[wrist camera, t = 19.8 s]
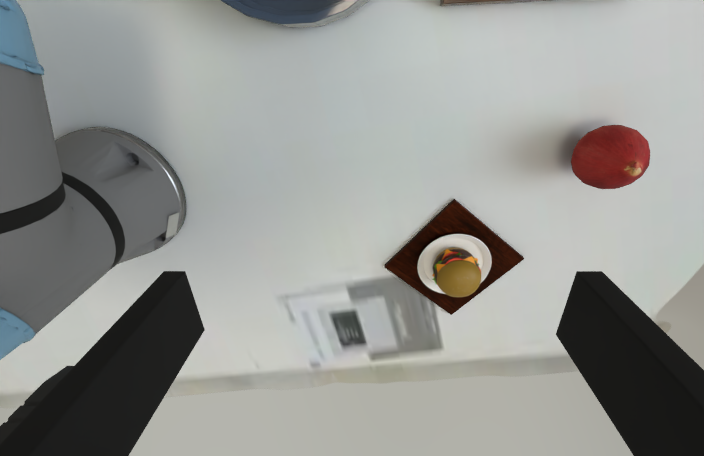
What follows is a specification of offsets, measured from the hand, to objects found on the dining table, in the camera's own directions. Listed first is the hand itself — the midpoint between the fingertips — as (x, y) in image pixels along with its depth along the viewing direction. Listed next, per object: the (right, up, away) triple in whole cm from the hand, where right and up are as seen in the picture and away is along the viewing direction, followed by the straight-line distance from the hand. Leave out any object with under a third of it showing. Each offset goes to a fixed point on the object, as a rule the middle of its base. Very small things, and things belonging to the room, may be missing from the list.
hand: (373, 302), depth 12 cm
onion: (+24, +11, +23) cm, 35 cm away
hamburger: (+12, -1, +30) cm, 33 cm away
